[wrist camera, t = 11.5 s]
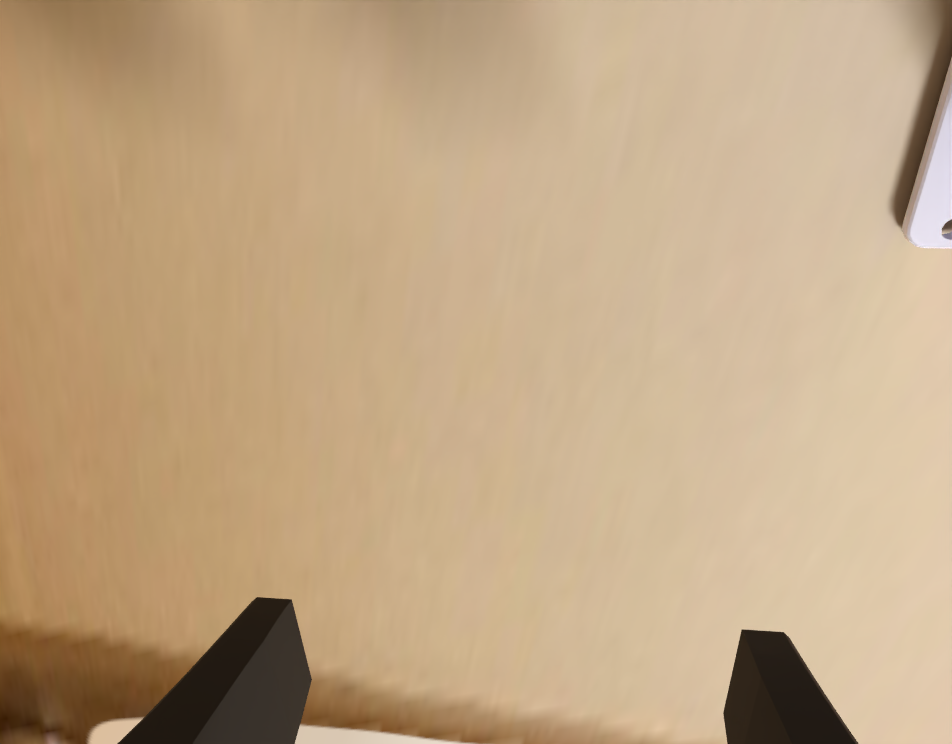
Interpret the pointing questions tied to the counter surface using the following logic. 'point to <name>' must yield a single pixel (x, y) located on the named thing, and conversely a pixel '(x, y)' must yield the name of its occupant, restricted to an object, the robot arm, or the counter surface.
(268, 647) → the robot arm
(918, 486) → the counter surface
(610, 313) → the counter surface
